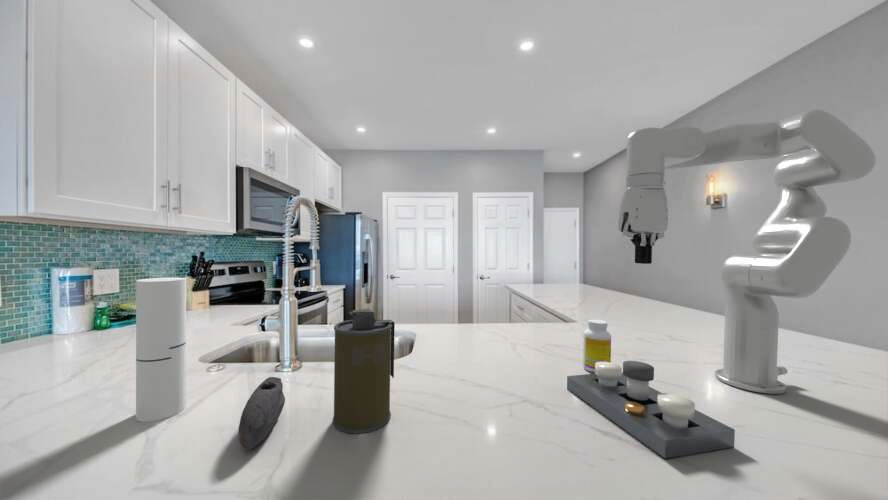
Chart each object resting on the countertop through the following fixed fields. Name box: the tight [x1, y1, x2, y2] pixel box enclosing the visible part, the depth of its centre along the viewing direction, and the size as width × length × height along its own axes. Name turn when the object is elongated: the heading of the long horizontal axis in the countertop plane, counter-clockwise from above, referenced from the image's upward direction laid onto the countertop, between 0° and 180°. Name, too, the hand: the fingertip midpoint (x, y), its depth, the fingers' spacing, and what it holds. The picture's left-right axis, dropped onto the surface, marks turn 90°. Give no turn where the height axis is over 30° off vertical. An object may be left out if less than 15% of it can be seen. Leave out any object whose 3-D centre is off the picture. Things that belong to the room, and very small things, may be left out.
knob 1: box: [594, 362, 623, 388], centre depth 72 cm, size 5×5×6 cm
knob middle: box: [622, 360, 655, 400], centre depth 64 cm, size 5×5×6 cm
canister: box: [332, 308, 396, 434], centre depth 61 cm, size 11×10×20 cm
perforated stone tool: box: [238, 376, 286, 450], centre depth 56 cm, size 15×5×7 cm, turn 10°
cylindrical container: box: [135, 277, 187, 423], centre depth 62 cm, size 7×7×25 cm
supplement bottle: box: [582, 318, 612, 374], centre depth 87 cm, size 7×7×13 cm
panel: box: [566, 372, 736, 461], centre depth 64 cm, size 25×14×4 cm, turn 14°
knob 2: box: [657, 392, 696, 430], centre depth 56 cm, size 5×5×6 cm
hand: (643, 263), depth 76 cm, fingers closed
